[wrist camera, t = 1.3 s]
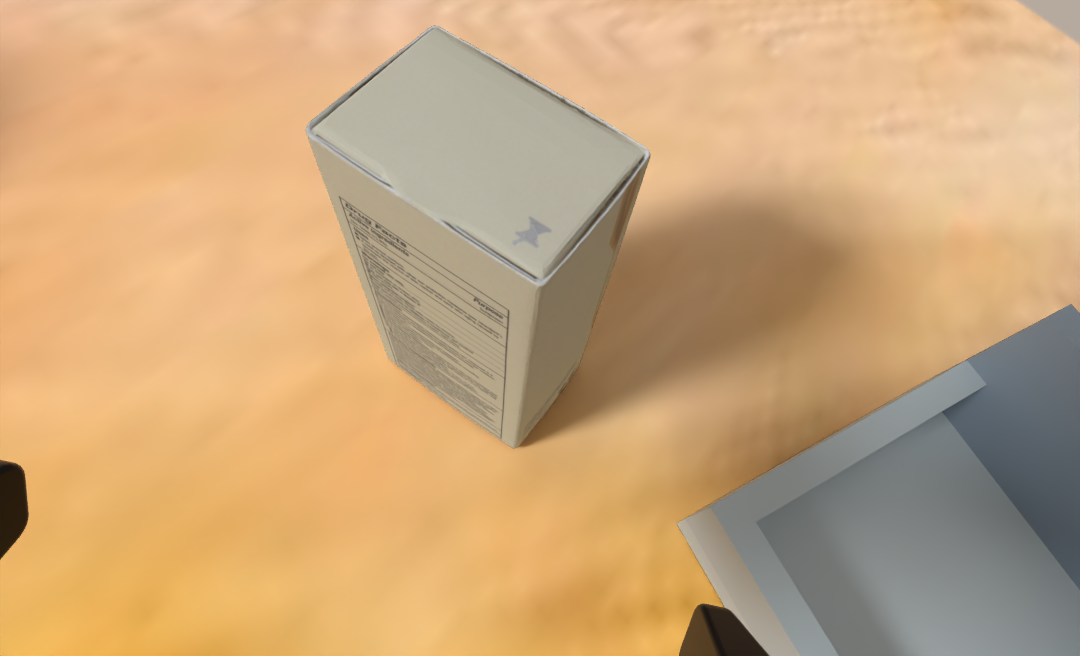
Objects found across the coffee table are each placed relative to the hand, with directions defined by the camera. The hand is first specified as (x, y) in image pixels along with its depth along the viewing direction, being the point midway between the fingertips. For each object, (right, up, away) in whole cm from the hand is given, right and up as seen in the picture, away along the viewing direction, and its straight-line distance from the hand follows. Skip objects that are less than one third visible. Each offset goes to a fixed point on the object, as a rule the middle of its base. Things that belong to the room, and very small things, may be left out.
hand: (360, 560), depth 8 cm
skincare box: (0, +2, +16) cm, 16 cm away
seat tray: (+15, -6, +14) cm, 21 cm away
